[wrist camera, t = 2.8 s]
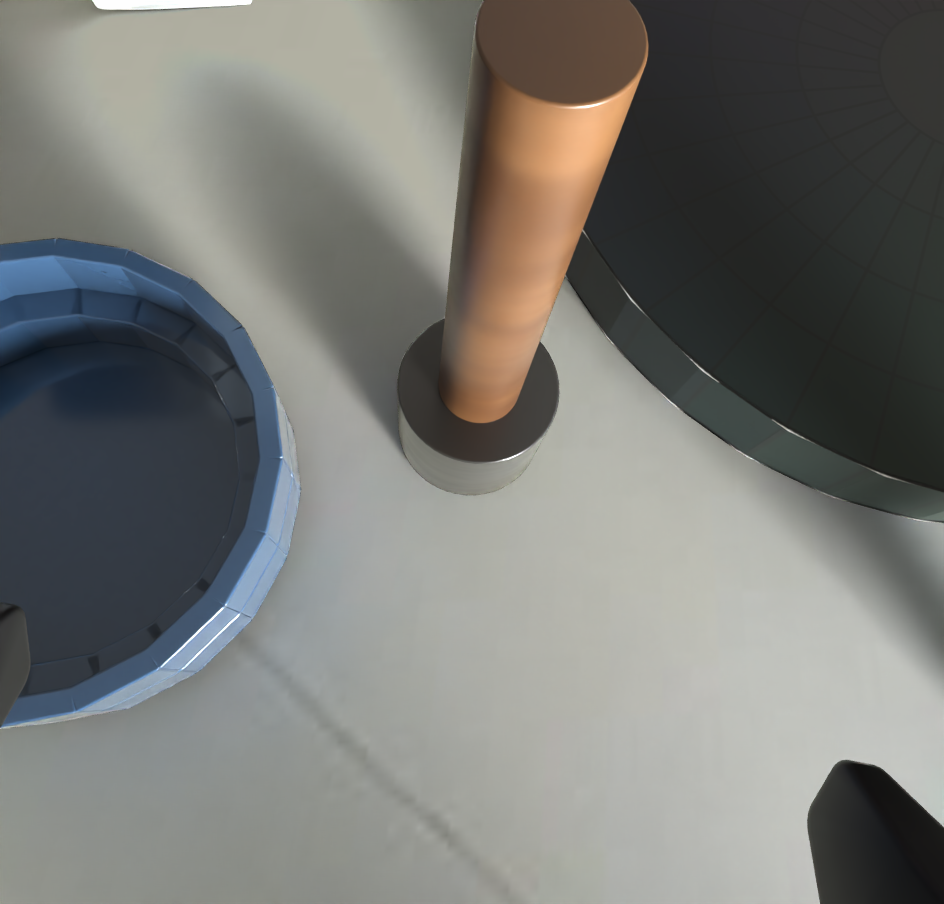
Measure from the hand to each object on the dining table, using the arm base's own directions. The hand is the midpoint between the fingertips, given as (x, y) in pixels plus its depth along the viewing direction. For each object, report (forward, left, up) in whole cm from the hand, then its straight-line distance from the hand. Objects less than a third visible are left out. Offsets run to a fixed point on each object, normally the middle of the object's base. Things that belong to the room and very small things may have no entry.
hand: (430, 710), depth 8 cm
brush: (+2, -8, -14) cm, 16 cm away
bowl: (+11, -1, -14) cm, 18 cm away
